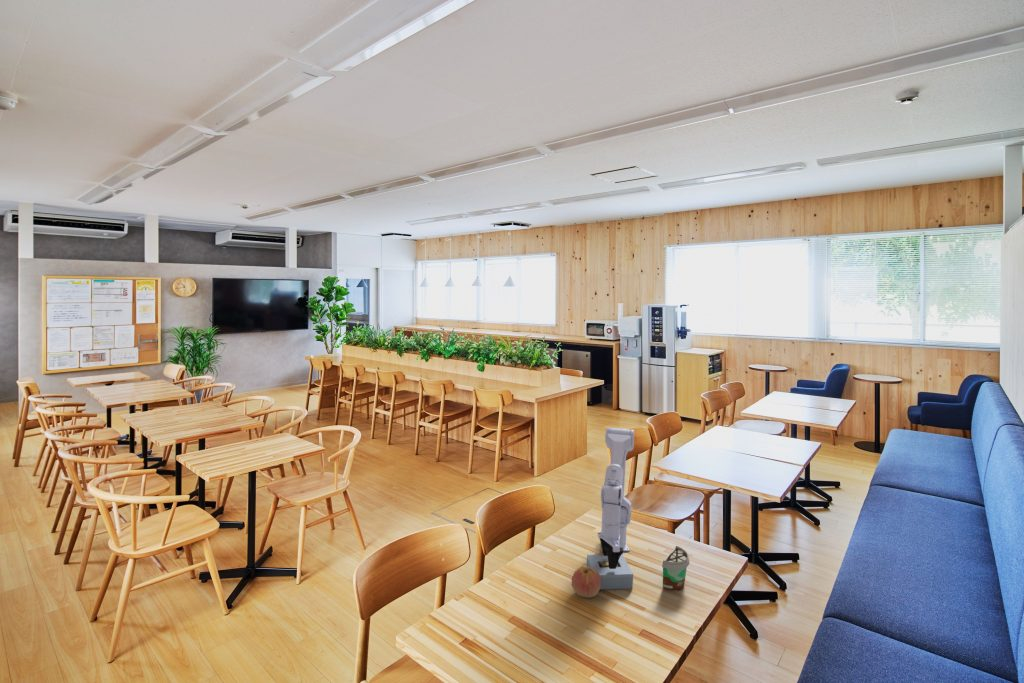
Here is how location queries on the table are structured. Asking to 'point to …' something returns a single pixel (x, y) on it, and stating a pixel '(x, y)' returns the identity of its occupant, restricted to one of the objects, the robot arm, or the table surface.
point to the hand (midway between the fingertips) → (609, 561)
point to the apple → (586, 582)
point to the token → (605, 564)
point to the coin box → (612, 573)
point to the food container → (675, 570)
